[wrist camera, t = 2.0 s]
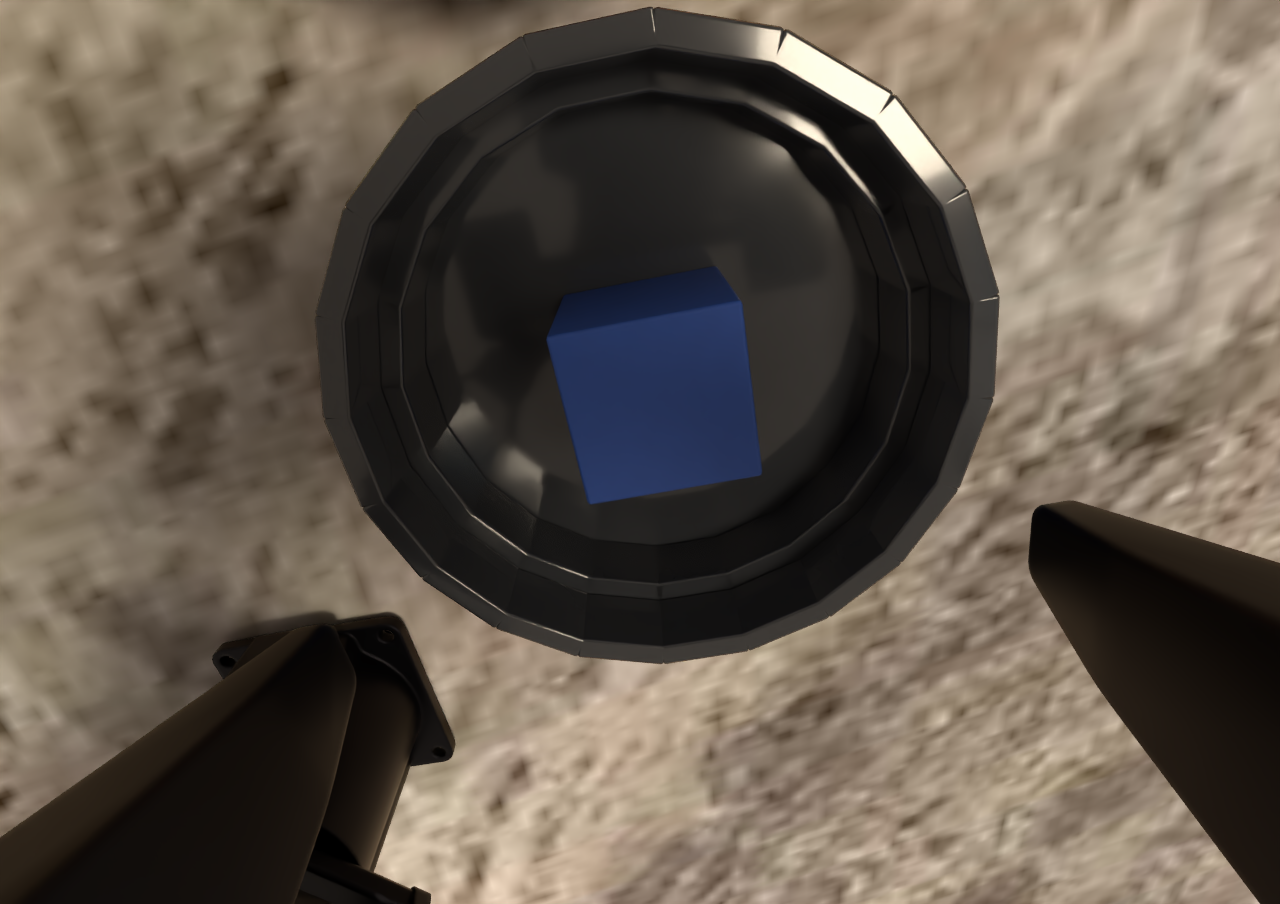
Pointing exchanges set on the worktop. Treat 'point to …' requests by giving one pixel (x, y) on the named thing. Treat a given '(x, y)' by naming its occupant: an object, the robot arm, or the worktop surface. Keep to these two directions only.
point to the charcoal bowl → (642, 249)
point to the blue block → (656, 385)
